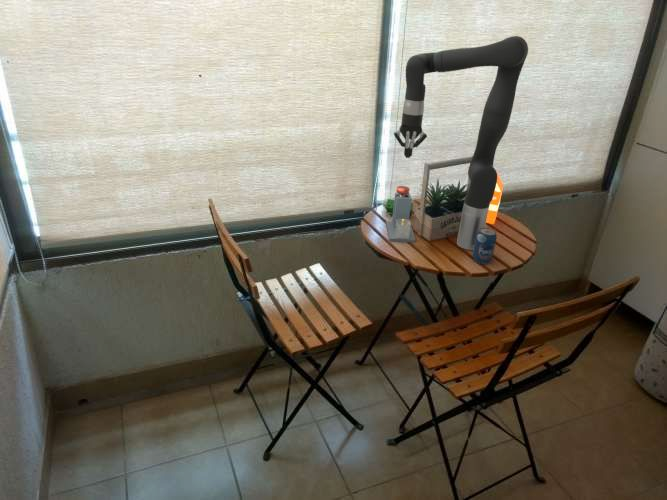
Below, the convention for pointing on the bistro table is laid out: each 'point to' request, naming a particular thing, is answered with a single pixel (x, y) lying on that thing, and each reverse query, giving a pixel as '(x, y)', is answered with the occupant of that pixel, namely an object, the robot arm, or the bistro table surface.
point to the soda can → (484, 245)
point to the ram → (402, 190)
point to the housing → (402, 228)
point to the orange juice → (495, 202)
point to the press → (400, 217)
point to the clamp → (391, 205)
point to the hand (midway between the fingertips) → (407, 157)
